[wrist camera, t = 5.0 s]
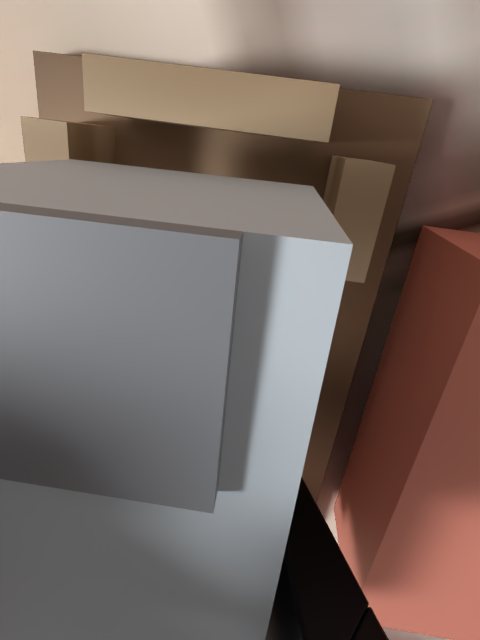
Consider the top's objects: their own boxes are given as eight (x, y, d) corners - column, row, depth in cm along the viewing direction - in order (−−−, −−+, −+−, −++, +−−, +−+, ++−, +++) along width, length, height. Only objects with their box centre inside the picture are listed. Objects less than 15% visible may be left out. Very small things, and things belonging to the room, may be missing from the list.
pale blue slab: (249, 566, 13) (227, 822, 8) (102, 542, 13) (-5, 774, 8) (312, 185, 8) (359, 253, 3) (70, 159, 8) (-257, 179, 3)
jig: (305, 520, 17) (309, 601, 14) (83, 480, 17) (41, 551, 14) (422, 102, 10) (481, 84, 7) (50, 57, 10) (-44, 21, 7)
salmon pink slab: (451, 523, 16) (505, 649, 12) (333, 503, 17) (349, 620, 12) (593, 246, 11) (769, 305, 7) (419, 223, 11) (494, 268, 7)
